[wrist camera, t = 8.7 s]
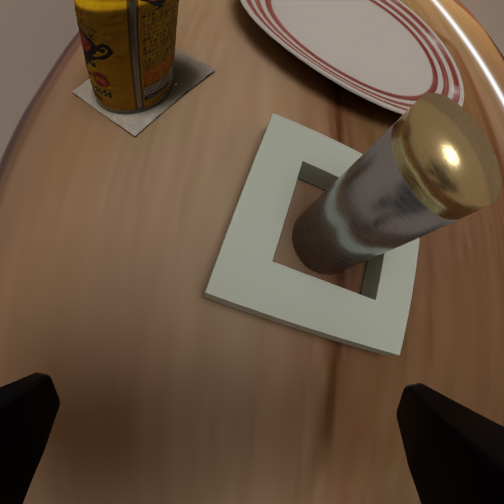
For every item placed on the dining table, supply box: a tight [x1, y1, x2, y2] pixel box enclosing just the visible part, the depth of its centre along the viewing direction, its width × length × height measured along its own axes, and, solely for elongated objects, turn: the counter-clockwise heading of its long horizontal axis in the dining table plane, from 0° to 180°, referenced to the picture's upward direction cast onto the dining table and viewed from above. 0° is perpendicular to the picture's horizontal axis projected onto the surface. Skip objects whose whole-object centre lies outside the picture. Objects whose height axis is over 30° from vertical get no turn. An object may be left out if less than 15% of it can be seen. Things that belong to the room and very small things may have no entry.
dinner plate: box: [240, 0, 464, 115], centre depth 26 cm, size 28×27×3 cm
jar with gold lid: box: [293, 93, 501, 274], centre depth 14 cm, size 4×4×12 cm
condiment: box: [72, 0, 216, 136], centre depth 14 cm, size 7×8×12 cm
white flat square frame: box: [203, 113, 419, 355], centre depth 19 cm, size 12×12×2 cm
